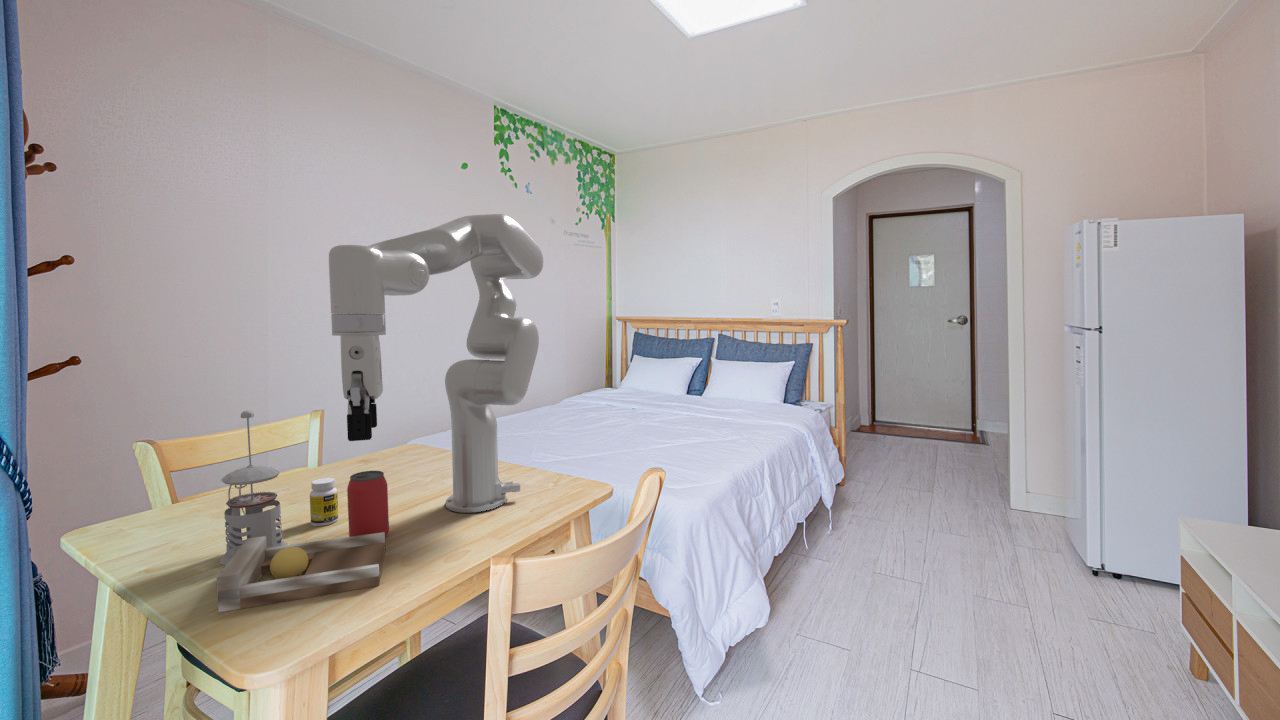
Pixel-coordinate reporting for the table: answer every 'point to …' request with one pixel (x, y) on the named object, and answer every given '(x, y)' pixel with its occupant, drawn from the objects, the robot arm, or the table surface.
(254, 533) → the french press
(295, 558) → the ball
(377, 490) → the beer can
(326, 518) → the supplement bottle
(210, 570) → the table surface
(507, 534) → the table surface
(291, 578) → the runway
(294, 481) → the table surface
